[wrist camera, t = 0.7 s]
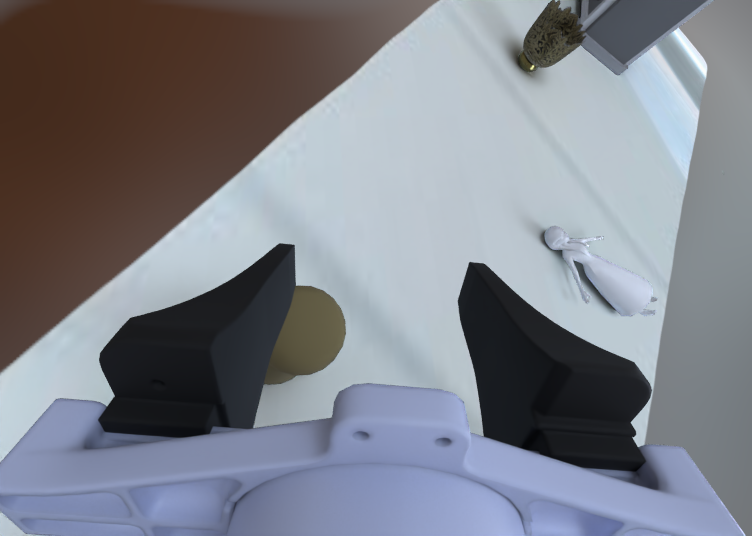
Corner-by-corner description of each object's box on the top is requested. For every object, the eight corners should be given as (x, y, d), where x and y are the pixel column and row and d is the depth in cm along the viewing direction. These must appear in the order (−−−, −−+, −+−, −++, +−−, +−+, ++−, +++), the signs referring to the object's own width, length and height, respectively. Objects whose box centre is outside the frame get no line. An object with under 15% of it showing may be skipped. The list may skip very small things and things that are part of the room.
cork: (230, 314, 28) (243, 277, 19) (305, 304, 31) (349, 267, 22) (240, 393, 27) (259, 396, 17) (317, 375, 30) (370, 369, 20)
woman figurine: (663, 342, 43) (551, 257, 41) (627, 347, 47) (523, 269, 45) (669, 269, 49) (571, 191, 47) (637, 279, 53) (544, 207, 50)
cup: (508, 72, 55) (552, 26, 48) (505, 38, 57) (546, -10, 50) (543, 91, 57) (590, 50, 50) (539, 57, 60) (583, 15, 53)
